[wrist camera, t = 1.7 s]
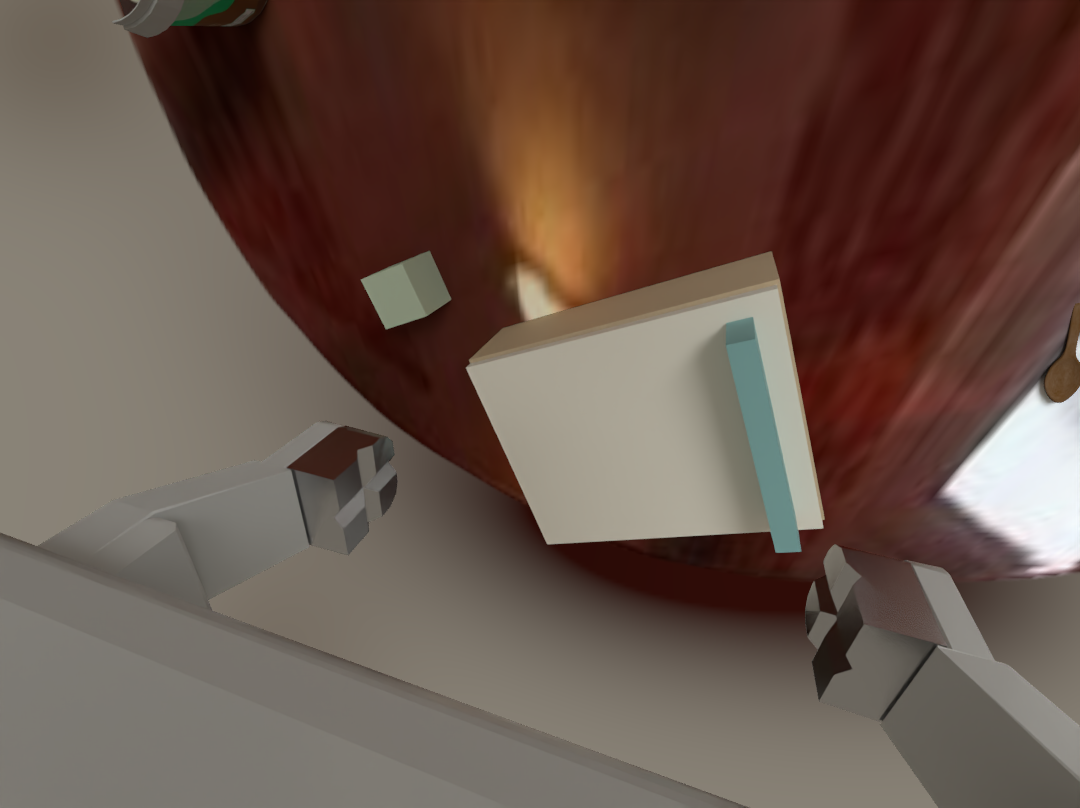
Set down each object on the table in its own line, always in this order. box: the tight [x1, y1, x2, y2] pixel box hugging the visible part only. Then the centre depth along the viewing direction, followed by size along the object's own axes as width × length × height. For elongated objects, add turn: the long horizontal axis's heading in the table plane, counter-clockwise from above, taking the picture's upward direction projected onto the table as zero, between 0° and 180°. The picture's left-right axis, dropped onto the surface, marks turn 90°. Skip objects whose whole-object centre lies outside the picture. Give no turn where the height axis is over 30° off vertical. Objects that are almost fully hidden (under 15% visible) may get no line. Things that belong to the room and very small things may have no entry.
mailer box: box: [469, 251, 825, 520], centre depth 40 cm, size 22×18×7 cm
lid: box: [466, 285, 823, 553], centre depth 35 cm, size 22×18×4 cm
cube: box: [361, 251, 451, 329], centre depth 43 cm, size 4×4×4 cm
